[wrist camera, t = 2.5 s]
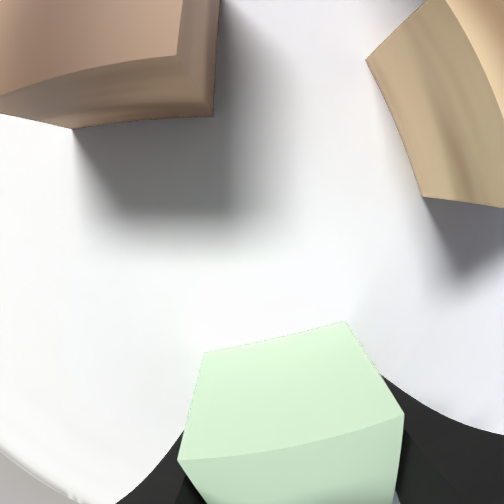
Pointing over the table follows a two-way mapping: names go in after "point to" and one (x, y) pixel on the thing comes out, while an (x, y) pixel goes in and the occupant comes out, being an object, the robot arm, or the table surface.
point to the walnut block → (107, 60)
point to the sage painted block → (293, 423)
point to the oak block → (449, 97)
